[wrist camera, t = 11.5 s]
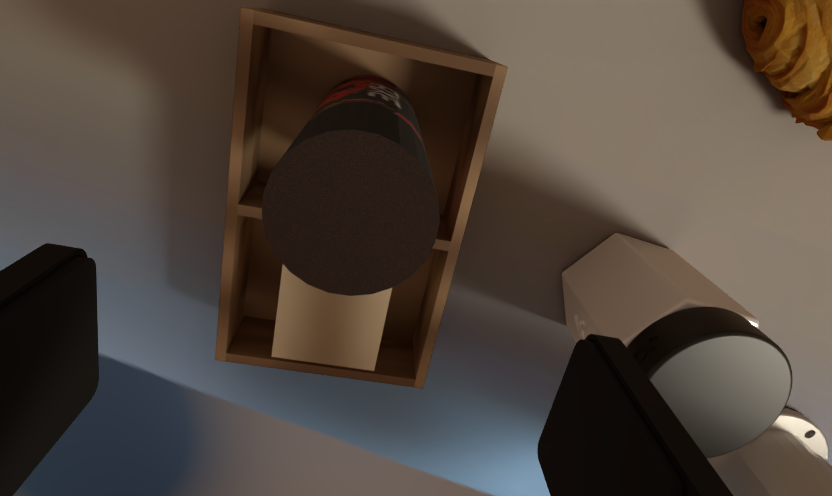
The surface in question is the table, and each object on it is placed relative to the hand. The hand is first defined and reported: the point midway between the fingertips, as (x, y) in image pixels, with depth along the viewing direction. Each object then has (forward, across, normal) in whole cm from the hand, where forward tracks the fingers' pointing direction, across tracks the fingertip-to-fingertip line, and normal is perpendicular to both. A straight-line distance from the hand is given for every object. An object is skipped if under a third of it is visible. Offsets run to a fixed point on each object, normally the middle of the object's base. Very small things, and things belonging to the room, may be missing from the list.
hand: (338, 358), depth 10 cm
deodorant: (+23, +1, 0) cm, 23 cm away
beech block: (+23, +1, +10) cm, 25 cm away
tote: (+24, +1, +4) cm, 24 cm away
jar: (+24, -19, +8) cm, 32 cm away
